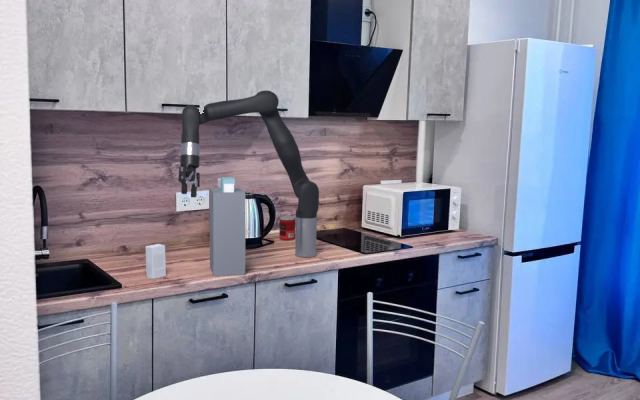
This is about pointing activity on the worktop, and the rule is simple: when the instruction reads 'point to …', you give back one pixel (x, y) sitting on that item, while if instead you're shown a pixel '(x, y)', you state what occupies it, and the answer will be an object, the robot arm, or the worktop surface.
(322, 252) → the worktop surface
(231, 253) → the stand
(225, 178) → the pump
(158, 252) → the skincare box
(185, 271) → the worktop surface
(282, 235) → the canned food
